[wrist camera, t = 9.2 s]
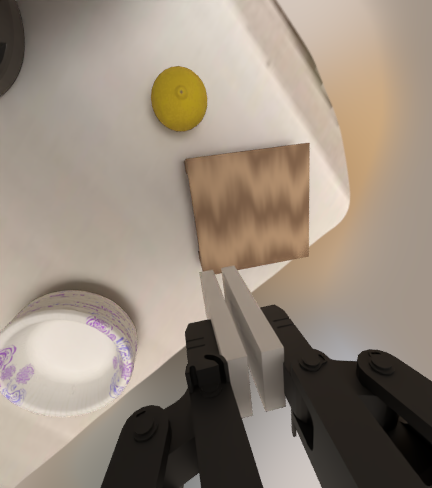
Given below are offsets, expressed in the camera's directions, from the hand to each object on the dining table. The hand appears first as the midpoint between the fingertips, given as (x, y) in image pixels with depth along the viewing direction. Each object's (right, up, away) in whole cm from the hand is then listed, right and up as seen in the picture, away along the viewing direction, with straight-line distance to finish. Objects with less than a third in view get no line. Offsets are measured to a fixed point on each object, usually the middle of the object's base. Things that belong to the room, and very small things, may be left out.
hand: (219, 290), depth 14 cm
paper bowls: (-19, -9, +22) cm, 30 cm away
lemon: (-5, +18, +15) cm, 24 cm away
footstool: (-3, +6, +17) cm, 18 cm away
